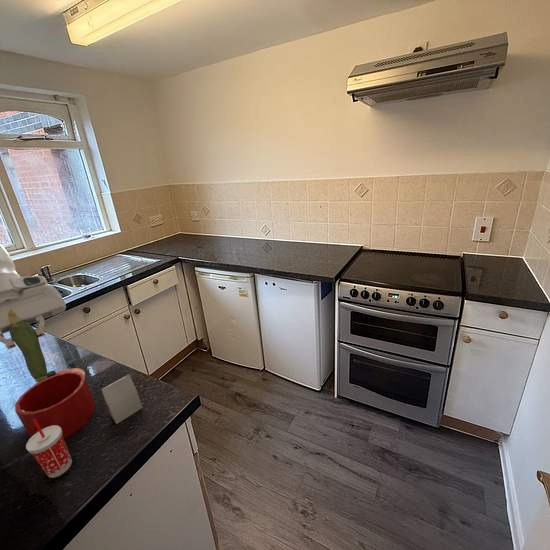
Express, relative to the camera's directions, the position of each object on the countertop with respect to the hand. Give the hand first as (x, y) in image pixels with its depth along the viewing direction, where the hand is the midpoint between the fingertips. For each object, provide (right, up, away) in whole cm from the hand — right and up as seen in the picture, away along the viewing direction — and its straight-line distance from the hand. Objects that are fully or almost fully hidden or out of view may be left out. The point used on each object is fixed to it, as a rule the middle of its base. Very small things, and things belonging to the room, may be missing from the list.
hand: (27, 341), depth 70 cm
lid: (-8, -18, +20) cm, 29 cm away
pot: (+3, -22, +8) cm, 24 cm away
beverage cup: (+11, -27, -5) cm, 29 cm away
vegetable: (+1, -11, +5) cm, 12 cm away
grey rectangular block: (+20, -21, +8) cm, 30 cm away
